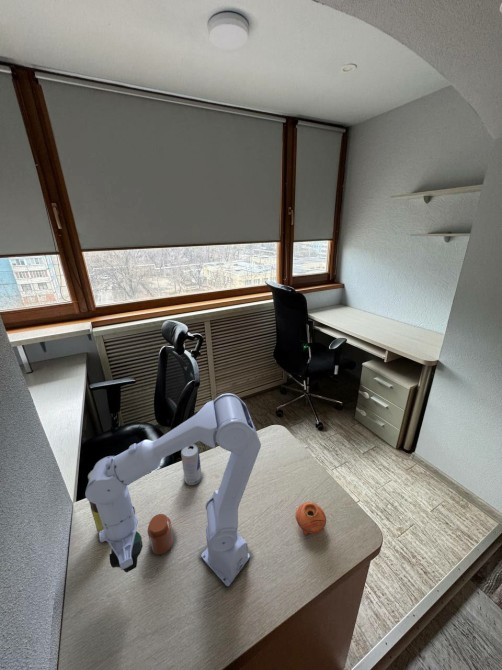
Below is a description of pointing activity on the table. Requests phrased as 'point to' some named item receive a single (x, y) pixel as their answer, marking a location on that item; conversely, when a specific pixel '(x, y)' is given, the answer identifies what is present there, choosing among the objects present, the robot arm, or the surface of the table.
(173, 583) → the table surface
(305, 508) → the pot
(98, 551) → the table surface
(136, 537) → the lid
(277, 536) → the table surface
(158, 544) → the jar
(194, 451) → the energy drink
